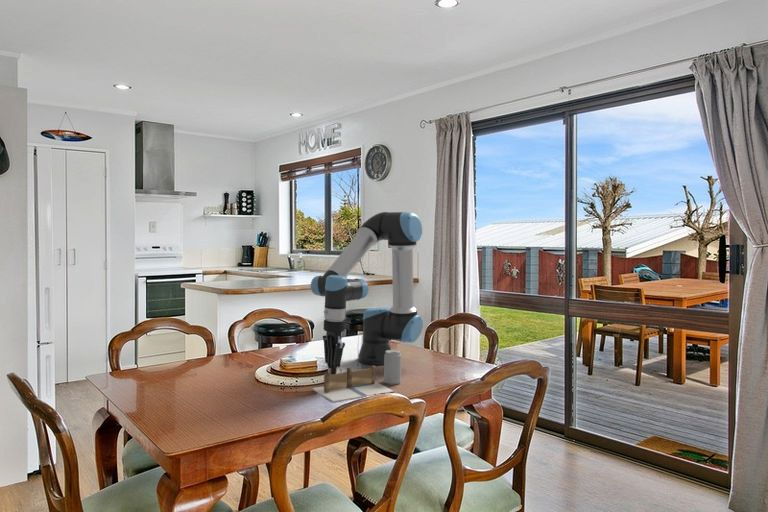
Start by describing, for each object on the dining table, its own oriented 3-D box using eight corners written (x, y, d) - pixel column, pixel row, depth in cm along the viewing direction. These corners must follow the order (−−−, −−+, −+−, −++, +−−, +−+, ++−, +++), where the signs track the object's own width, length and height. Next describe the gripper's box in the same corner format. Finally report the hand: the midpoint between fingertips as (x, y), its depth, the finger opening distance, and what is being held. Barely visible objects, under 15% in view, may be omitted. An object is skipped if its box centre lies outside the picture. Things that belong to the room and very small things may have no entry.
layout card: (312, 389, 192) (312, 387, 192) (370, 380, 205) (370, 379, 205) (333, 402, 179) (333, 400, 179) (393, 392, 192) (393, 390, 192)
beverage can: (386, 385, 199) (387, 353, 199) (381, 380, 206) (382, 349, 205) (402, 384, 201) (403, 353, 200) (397, 380, 207) (398, 349, 207)
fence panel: (322, 391, 188) (323, 373, 187) (344, 386, 194) (344, 368, 194) (325, 392, 186) (326, 374, 186) (347, 387, 193) (348, 370, 192)
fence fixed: (345, 388, 195) (346, 367, 194) (373, 383, 201) (373, 364, 201) (347, 389, 193) (348, 369, 193) (375, 385, 200) (376, 365, 199)
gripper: (317, 316, 194) (314, 380, 196) (333, 323, 183) (329, 391, 185) (335, 315, 198) (332, 378, 200) (352, 322, 187) (349, 388, 189)
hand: (331, 384), depth 192 cm, fingers closed
